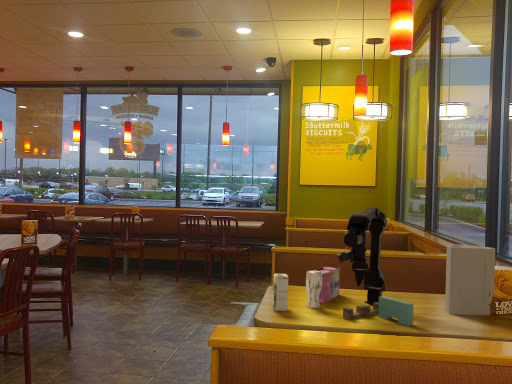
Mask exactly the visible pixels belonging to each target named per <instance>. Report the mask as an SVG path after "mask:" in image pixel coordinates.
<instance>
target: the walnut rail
mask: <svg viewBox="0 0 512 384" xmlns="http://www.w3.org/2000/svg"><path fill="white" fill-rule="evenodd" d="M378 313H379V303H378V302H376V303H373V305H372V308H371V305H370V304H369V305H368V304H359V305H356V306H355V311H354V309H353V308H352V307H347V306H346V307H342V318H343V319H344V320H347V321H351V320H356V319H361V318H366V317H373V316H376V315H377V316H378Z"/></svg>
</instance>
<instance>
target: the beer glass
mask: <svg viewBox="0 0 512 384" xmlns="http://www.w3.org/2000/svg"><path fill="white" fill-rule="evenodd" d="M305 275H306V276H305V288H306V296H307V298H306V299H307V301H306V304H305V307H307V308H309V309H319V308H321V303H320V293H321V288H322V272H321V271H313V270H307V271H306V274H305Z"/></svg>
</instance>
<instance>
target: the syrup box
mask: <svg viewBox="0 0 512 384" xmlns="http://www.w3.org/2000/svg"><path fill="white" fill-rule="evenodd" d="M272 282H273V284H272V285H273V286H272V303H271V304H272V307H271V308H272V310H273V312H287V311H288V295H289V290H288V289H289V275H288V274H287V273H273V281H272Z"/></svg>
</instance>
